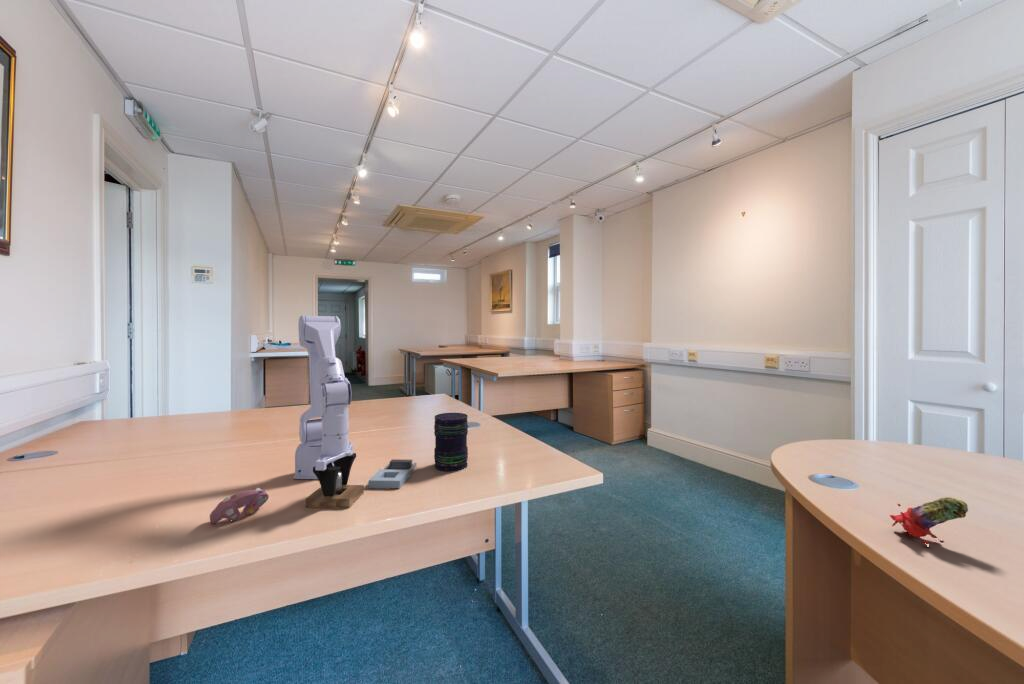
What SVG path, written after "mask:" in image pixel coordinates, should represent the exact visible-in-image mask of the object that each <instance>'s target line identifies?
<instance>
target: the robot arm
mask: <svg viewBox="0 0 1024 684" xmlns="http://www.w3.org/2000/svg"><path fill="white" fill-rule="evenodd" d="M297 329H298V343H299V344H300V347H302V348H305V349H306V351H307V354H308V364H309V365H308V367H309V391H310V392H309V393H310V395H309V396H310V397H309V398H310V407H309V408H308V409H307V410H306V411H304V412H303V413H302V414H301V415H300V417H299V426H298V427H299V428H298V429H299V431H298V433H299V442H300V443H299V444H298V445H297V447H296V449H295V452H294V468H295V469H294V476H293V479H294V480H317V481H318V482H319V484H320V485H319V486H320V487H321V488H322V492H323V495H324V497H333V496H334V494H335V489H336V480H337V476H338V473H339V471H342V485H348V483H349V479H350V478H349V477H350V474H351V473H350V472H351V470H352V467H353V463H354V461H355V459H356V458H357V453H356V452H355V451H354V442H349V441H350V440H349V438H350V437H349V436H350V435H349V433H350V432H349V431H350V430H349V429H350V428H349V417H350V416H349V406H350V405H351V403H352V398H353V397H352V396H353V395H352V394H353V393H352V385H351V382H350V381H349V380H348V379H349V378H347V377H346V376H345V371H344V367H343V362H342V361H341V359H340V358H338V357H337V356H336V344H337V342H338V340H339V337H340V335H341V330H342V325H341V320H340V318H339V317H338V316H337V315H334V316H333V315H331V316H329V315H304V314H301V315H300V316H299V318H298V328H297ZM315 418H317V419H315Z"/></svg>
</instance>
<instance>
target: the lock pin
mask: <svg viewBox="0 0 1024 684" xmlns="http://www.w3.org/2000/svg"><path fill="white" fill-rule="evenodd" d="M341 494H342V471H339V473H338V476H337V480H336V489H335V494H334V495H341Z"/></svg>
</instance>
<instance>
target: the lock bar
mask: <svg viewBox="0 0 1024 684" xmlns="http://www.w3.org/2000/svg"><path fill="white" fill-rule="evenodd" d="M389 463H390V469H394V470H409V469H410V468H411V466H412V465H413V459H398V458H397V459H396V458H395V459H393V458H392V459H391V460H390V461H389Z"/></svg>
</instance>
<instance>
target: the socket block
mask: <svg viewBox="0 0 1024 684" xmlns="http://www.w3.org/2000/svg"><path fill="white" fill-rule="evenodd" d="M409 477H410V476H409V470H394V469H384V468H382V469H380V468H379V470H378V471H377V472H375V474H373V476H371V478H369V479H368V489H390V488H400V489H401V488H402V487H401V486H404V484H405V483H406V481H407V480H408V479H409ZM404 482H405V483H404Z"/></svg>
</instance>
